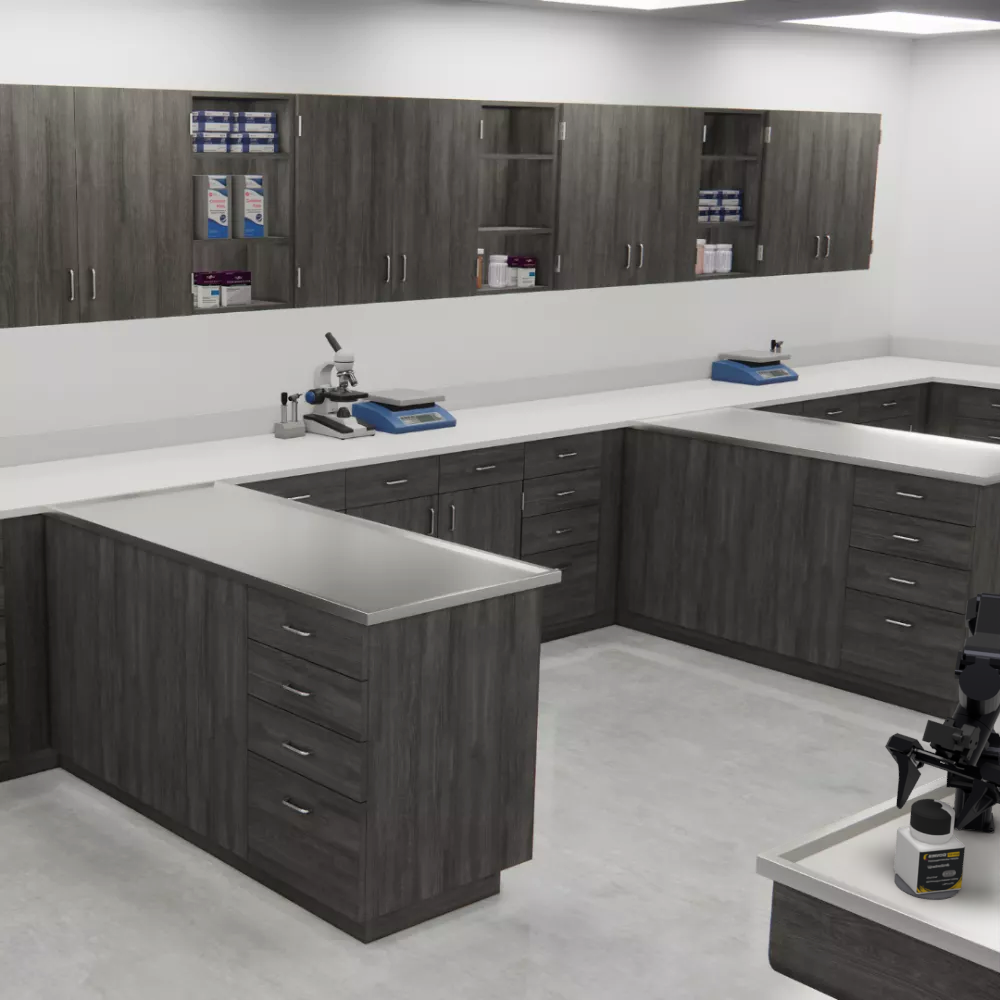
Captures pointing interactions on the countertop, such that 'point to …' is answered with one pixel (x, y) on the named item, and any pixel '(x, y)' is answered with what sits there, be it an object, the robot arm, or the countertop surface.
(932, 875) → the medicine bottle
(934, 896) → the pad
